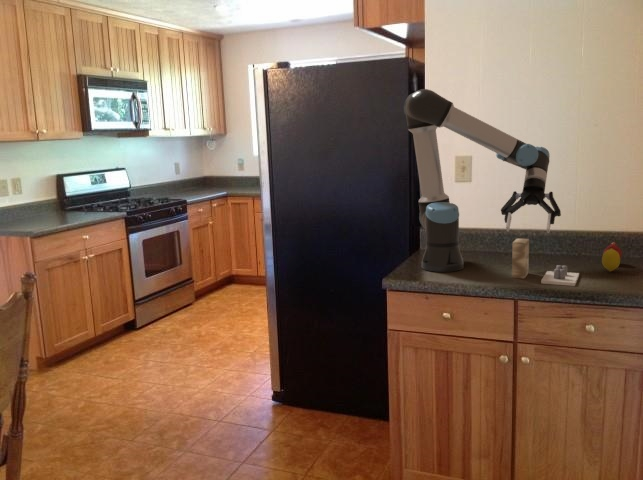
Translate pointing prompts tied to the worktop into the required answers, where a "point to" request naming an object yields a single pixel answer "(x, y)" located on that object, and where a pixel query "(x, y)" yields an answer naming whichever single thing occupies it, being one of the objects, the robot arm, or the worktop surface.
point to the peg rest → (560, 276)
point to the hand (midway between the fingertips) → (527, 230)
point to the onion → (614, 248)
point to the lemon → (611, 259)
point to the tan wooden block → (520, 258)
